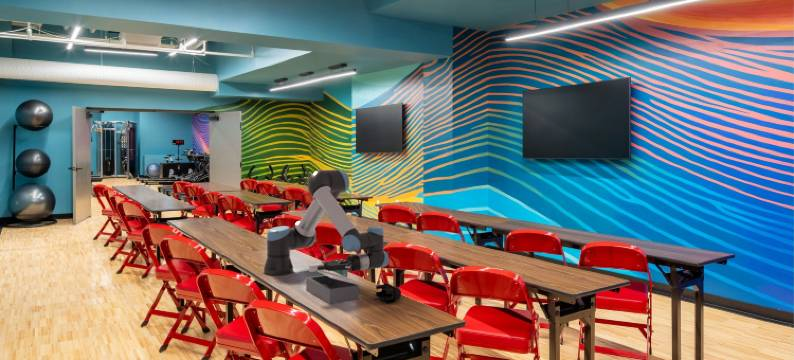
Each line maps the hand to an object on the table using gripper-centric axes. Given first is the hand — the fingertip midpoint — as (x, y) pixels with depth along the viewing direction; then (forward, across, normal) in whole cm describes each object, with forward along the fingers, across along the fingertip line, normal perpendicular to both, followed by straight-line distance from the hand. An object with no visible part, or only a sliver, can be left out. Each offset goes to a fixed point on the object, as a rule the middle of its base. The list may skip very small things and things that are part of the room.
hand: (309, 268), depth 216 cm
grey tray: (-11, 0, -13) cm, 17 cm away
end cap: (-28, -20, -13) cm, 37 cm away
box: (-23, +23, -14) cm, 35 cm away
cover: (-11, 0, -5) cm, 12 cm away
